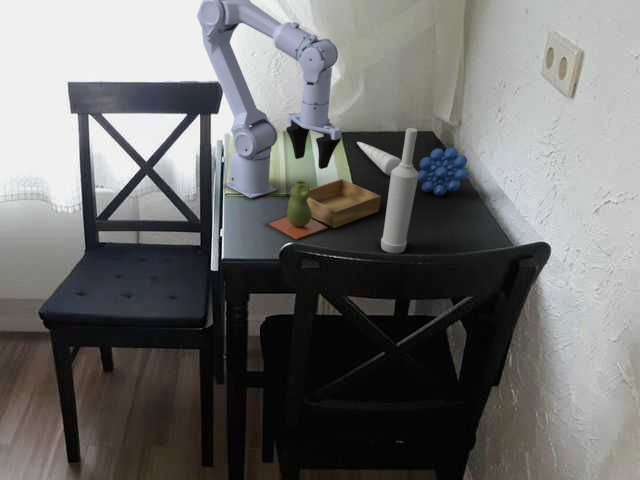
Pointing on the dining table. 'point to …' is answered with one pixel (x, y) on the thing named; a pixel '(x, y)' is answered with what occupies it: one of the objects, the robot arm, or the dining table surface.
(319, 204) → the wooden shallow box
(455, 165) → the blue knobbed flower
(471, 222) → the dining table surface
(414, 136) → the bottle
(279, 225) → the coaster
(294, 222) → the pear
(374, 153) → the unicorn horn
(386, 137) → the dining table surface
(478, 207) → the dining table surface
